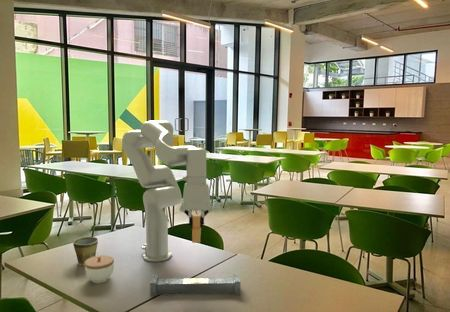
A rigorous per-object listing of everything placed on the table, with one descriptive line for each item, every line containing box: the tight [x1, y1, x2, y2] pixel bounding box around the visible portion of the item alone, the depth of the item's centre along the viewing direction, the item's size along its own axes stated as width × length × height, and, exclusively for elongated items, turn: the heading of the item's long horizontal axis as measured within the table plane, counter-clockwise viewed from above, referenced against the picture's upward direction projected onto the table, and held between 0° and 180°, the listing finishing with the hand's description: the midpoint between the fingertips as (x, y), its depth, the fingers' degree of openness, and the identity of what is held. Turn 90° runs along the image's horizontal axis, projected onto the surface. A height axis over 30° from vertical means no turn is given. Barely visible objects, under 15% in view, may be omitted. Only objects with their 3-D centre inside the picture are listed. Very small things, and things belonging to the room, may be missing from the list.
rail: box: [149, 273, 241, 297], centre depth 133 cm, size 32×6×5 cm, turn 92°
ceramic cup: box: [72, 236, 99, 267], centre depth 159 cm, size 13×10×10 cm
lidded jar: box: [84, 255, 114, 284], centre depth 142 cm, size 11×11×9 cm
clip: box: [191, 213, 202, 244], centre depth 142 cm, size 8×3×10 cm, turn 2°
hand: (196, 226), depth 142 cm, fingers closed on clip, 3 cm apart
